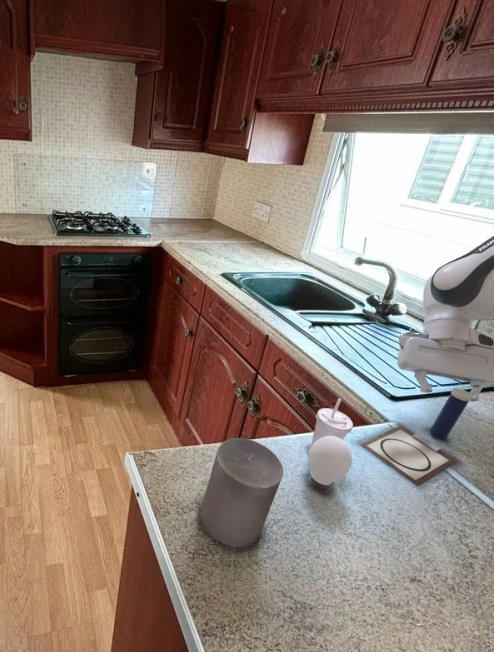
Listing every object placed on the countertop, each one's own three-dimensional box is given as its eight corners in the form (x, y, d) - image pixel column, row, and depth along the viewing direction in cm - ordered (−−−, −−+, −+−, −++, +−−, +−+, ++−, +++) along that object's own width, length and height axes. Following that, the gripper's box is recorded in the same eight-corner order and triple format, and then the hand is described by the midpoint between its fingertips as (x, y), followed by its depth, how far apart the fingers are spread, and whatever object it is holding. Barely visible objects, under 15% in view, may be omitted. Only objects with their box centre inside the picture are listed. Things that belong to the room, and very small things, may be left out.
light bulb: (344, 501, 72) (367, 455, 67) (308, 500, 71) (329, 453, 67) (325, 471, 78) (345, 427, 73) (292, 470, 77) (310, 426, 73)
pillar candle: (238, 492, 71) (260, 427, 65) (272, 543, 63) (301, 474, 56) (189, 502, 68) (206, 435, 62) (218, 557, 60) (241, 486, 53)
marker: (448, 439, 91) (475, 395, 85) (440, 443, 89) (467, 398, 84) (432, 429, 93) (457, 386, 88) (425, 433, 92) (450, 389, 86)
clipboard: (457, 463, 84) (460, 459, 84) (416, 488, 77) (419, 484, 76) (400, 426, 93) (401, 423, 93) (358, 445, 86) (360, 441, 85)
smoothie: (304, 439, 86) (326, 386, 79) (337, 453, 83) (362, 398, 77) (300, 458, 81) (322, 402, 74) (334, 473, 78) (361, 416, 72)
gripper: (407, 325, 92) (407, 384, 88) (506, 342, 89) (511, 403, 85) (391, 333, 98) (391, 389, 94) (483, 349, 95) (487, 407, 91)
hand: (449, 396), depth 90 cm, fingers open, 8 cm apart
